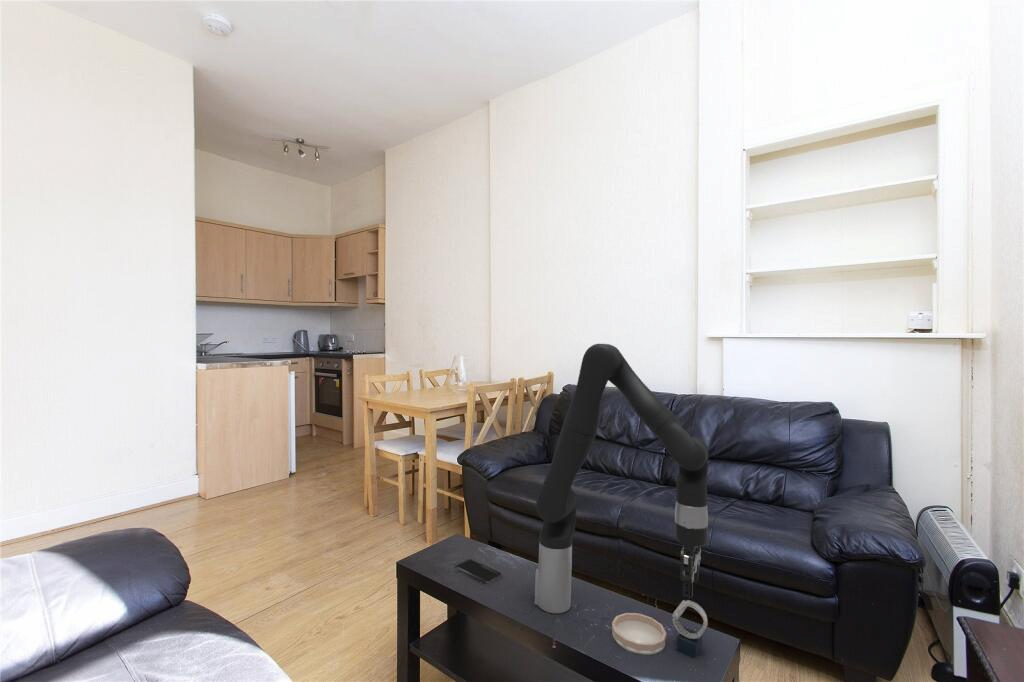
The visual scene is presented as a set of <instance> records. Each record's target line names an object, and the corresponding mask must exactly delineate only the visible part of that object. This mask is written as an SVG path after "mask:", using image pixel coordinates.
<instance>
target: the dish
mask: <svg viewBox="0 0 1024 682" xmlns="http://www.w3.org/2000/svg"><path fill="white" fill-rule="evenodd" d="M611 631H612V633H611V634H612V639H613V640H614V641H615V642H616V643H617V644H618V645H619V646H620V647H621V648H623V649H624V650H626V651H629V652H631V653H634V654H638V655H647V656H648V655H656V654H659V653H661V652H662V651H663V650H664V649H665V647H666V641H667V632H666V630H665V627H664V626H663V624H662V623H660V622H659V621H657V620H656V619H654V618H653V617H650V616H648V615H645V614H642V613H639V612H638V613H637V612H635V613H634V612H624V613H622V614H618V615H616V616H615V617H614V619H613V620H612V621H611Z"/></svg>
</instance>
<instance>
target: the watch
mask: <svg viewBox="0 0 1024 682" xmlns="http://www.w3.org/2000/svg"><path fill="white" fill-rule="evenodd" d="M688 607H690V608H692V609H694V610H695V611H696V612H697V613H698V614H699V615H700V616H701V618H702V620H703V623H702V626H701V629H699V630H698V631H696V630H693V629H691V628H688V627H686V626H685V627H684V626H682V624H681V623H680V621H679V618H680V617H681V616H682V615H683V613H684V612H685V611H686V609H687V608H688ZM671 617H673V618H672V623H673V625H674V628H675V629H676V631H677V632H678V633H679V634H678V635H677V637H676V652H678V653H681V654H683V655H685V656H688V657H689V658H692V659H694V658H696V659H697V657H698V655H699V653H698V652H700V651H701V650H702V647H703V645H702V644H703V634H704V633H705V631H706V630H707V627H708V625H709V623H708V621H709V620H708V616H707V614H706V611H705V610H704V609H703V608H702V606H701V605H699V604H698V603H697V602H695V601H692V600H689V599H687V600H685V599H683V600H681V602H680V603H679V605H678V606H677V607H676V609H675V610H674V612H673V613H672V614H671ZM701 646H702V647H701ZM699 650H700V651H699ZM696 656H697V657H696Z"/></svg>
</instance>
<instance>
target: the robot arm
mask: <svg viewBox="0 0 1024 682" xmlns="http://www.w3.org/2000/svg"><path fill="white" fill-rule="evenodd" d="M608 382H610V383H611V384H613V386H614V387H616V388H617V389H618V390H619V391H620V393H621V394H622V395H623V396H624V397H625V399H626V400H627V402H628V404H629V405H630V406H631V408H632V410H633V411H634V413H636V415H637V417H638V418H639V419H640V420H641V421H642V423H643V424H644V425H645V426H646V427H647V428H648V429H649V430H650V431H651V432H652V433H653V435H655V436H656V438H657V439H659V441H660V442H661V444H662V446H663V447H664V448H665V450H666V451H667V452H668V454H669V455H670V457H671V458H672V459H673V461H675V462H676V463H677V464H678V476H677V477H678V478H677V480H676V485H675V507H674V538H675V540H676V541H677V542H678V543H680V544H681V545H682V548H681V549H680V556H679V558H680V560H679V561H680V562H679V563H680V566H679V567H680V569H679V570H680V571H679V581H680V582H682V589H681V590H682V593H681V594H682V596H683V597H684V598H687V599H693V596H694V583H698V582H699V567H700V565H701V563H700V562H701V560H702V557H701V553H702V550H701V549H702V548H701V547H704V546H706V545H707V544H708V543H709V542H708V541H709V513H708V511H709V510H708V488H707V487H708V486H707V479H708V477H707V476H708V469H709V448H708V446H707V444H706V443H705V442H704V441H703V440H702V439H700V438H699V437H696V436H691V435H690V434H689V433H688V432H687V431H686V430H685V428H683V426H682V423H681V421H680V419H679V418H678V417H677V416H676V415H675V414H674V413H673V412H672V410H670V408H668V407H667V406H666V404H664V403H663V401H661V399H660V398H659V397H658V396H657V395H656V394H655V393H653V391H652V390H650V388H649V387H648V386H647V385H646V384H645V383H644V382H643V381H642V380H641V378H640V377H639V376H638V374H637V373H636V372H635V371H634V370H633V368H632V367H631V366H630V364H629V362H628V361H627V360H626V358H625V357H624V355H623V354H622V352H621V351H620V350H619V349H618V347H616V346H615V345H612V344H610V343H609V344H608V343H595V344H592V345H591V346H590V347H588V348H587V349H586V350H585V352H584V354H583V357H582V359H581V363H580V370H579V374H578V379H577V383H576V388H575V390H574V393H573V396H572V399H571V402H570V403H569V407H568V411H567V413H566V416H565V419H564V422H563V425H562V426H561V430H560V434H559V437H558V440H557V444H556V447H555V450H554V453H553V457H552V460H551V464H550V466H549V470H548V472H547V474H546V477H545V479H544V481H543V483H542V484H541V485H542V486H541V488H540V490H539V493H538V494H537V497H536V502H535V505H536V506H535V507H536V511H537V514H538V516H539V517H540V519H541V520H542V521H543V524H542V527H541V529H540V531H539V534H538V535H539V539H538V540H539V541H538V542H539V543H538V546H539V547H538V567H537V568H536V569H535V576H534V578H535V579H534V580H535V583H534V605H536V606H538V607H539V609H541V610H542V611H544V612H546V613H550V614H563V613H565V612H568V611H569V610H570V608H571V606H572V604H571V602H572V601H571V600H572V597H571V596H572V594H571V593H572V567H573V566H572V564H573V563H572V562H573V561H572V559H573V557H572V556H573V537H574V535H575V530H576V520H577V519H576V518H577V517H576V516H577V498H576V494H575V492H574V490H573V489H572V488H573V487H572V486H573V483H574V481H575V478H576V477H577V474H578V473H579V471H580V469H581V468H582V466H583V465H584V463H585V462H586V459H587V458H588V456H589V454H590V452H591V450H592V448H593V445H594V441H595V438H596V435H597V432H598V429H599V424H600V410H601V408H600V407H601V402H602V397H603V394H604V392H605V390H606V386H607V384H608ZM686 573H688V575H687V574H686Z"/></svg>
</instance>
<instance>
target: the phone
mask: <svg viewBox="0 0 1024 682" xmlns="http://www.w3.org/2000/svg"><path fill="white" fill-rule="evenodd" d="M455 569H457V570H459V571H461V572H463V573H465V574H466V575H468V576H470V577H472V578H474V579H476V580H478V581H480V582H482V583H483V584H489V583H491V582H492V583H494V582H496V581H498V580H499V579H498V578H500V577H502V578H503V574H502V572H500V571H498V570H496V569H494V568H492V567H489V566H488V565H485V564H483V563H481V562H479V561H477V560H475V559H473V558H469V559H466V560H464V561H461V562H460V563H457V564H455V565H454V570H455ZM457 570H456V571H457ZM459 571H458V572H459ZM461 572H460V573H461ZM463 573H462V574H463ZM466 575H465V576H466ZM468 576H467V577H468ZM470 577H469V578H470ZM472 578H471V579H472ZM474 579H473V580H474ZM497 579H498V580H497ZM500 579H501V578H500ZM476 580H475V581H476ZM495 580H496V581H495ZM478 581H477V582H478ZM493 581H494V582H493ZM480 582H479V583H480ZM492 583H491V584H492ZM483 584H482V585H483ZM489 585H490V584H489Z"/></svg>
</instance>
